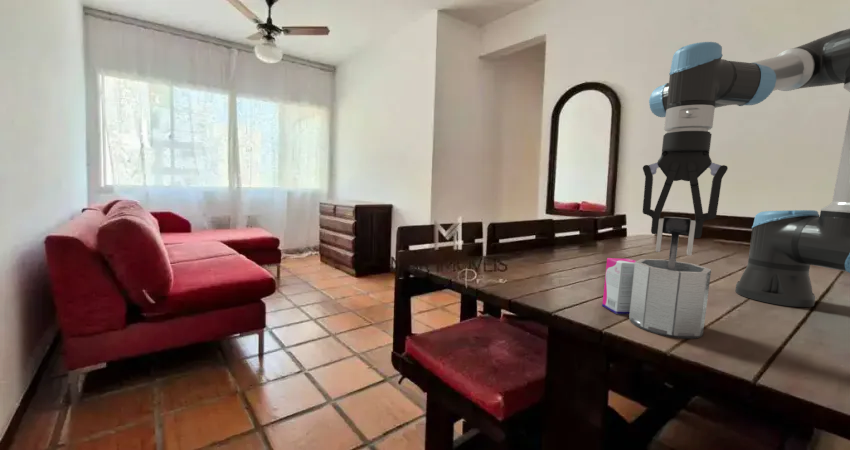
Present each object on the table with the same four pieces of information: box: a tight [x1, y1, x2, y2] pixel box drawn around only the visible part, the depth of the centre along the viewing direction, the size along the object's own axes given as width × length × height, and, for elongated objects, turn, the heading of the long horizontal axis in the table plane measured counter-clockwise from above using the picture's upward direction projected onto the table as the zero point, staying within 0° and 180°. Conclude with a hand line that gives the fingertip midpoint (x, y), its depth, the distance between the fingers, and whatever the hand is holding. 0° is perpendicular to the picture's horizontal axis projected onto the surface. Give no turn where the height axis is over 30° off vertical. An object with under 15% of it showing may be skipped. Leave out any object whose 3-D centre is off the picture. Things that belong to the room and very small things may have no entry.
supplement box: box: [601, 257, 636, 315], centre depth 83 cm, size 6×6×12 cm
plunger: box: [662, 216, 692, 271], centre depth 73 cm, size 8×8×20 cm
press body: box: [628, 258, 712, 340], centre depth 75 cm, size 12×15×12 cm
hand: (673, 252), depth 73 cm, fingers closed on plunger, 4 cm apart
